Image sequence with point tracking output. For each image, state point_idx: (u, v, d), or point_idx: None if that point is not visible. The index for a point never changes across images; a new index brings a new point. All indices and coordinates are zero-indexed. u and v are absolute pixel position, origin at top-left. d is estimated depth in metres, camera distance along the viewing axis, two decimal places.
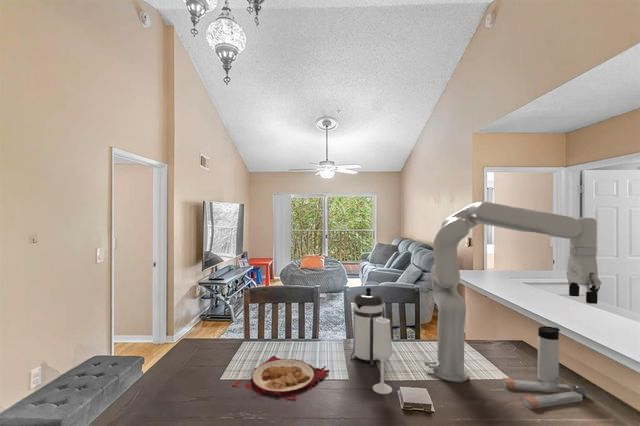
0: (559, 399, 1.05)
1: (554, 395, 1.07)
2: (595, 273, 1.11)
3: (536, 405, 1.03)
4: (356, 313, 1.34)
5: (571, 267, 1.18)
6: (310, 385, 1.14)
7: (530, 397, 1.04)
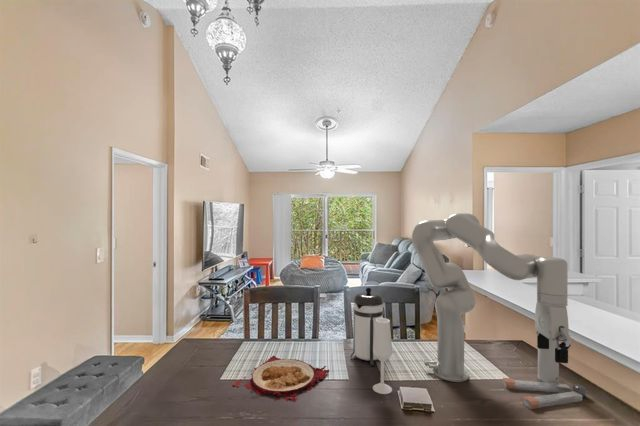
0: (559, 399, 1.05)
1: (554, 395, 1.07)
2: (565, 326, 0.93)
3: (536, 405, 1.03)
4: (356, 313, 1.34)
5: (539, 316, 1.00)
6: (310, 385, 1.14)
7: (530, 397, 1.04)
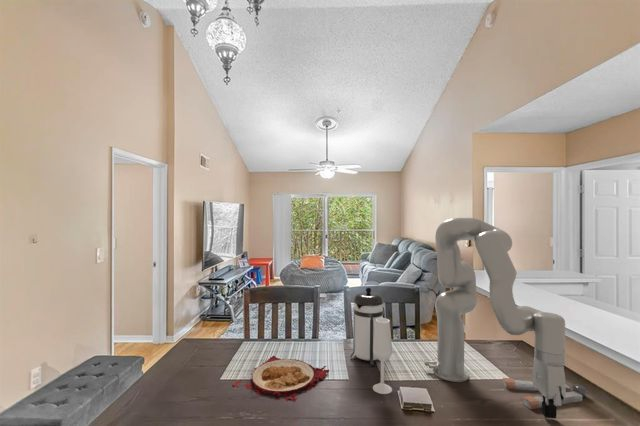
0: None
1: None
2: (562, 387, 0.92)
3: (536, 405, 1.03)
4: (356, 313, 1.34)
5: (536, 371, 0.99)
6: (310, 385, 1.14)
7: (530, 397, 1.04)
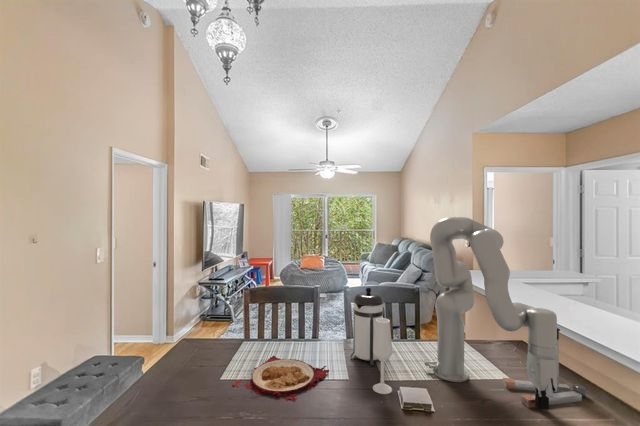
0: (558, 399, 1.05)
1: None
2: (554, 379, 0.97)
3: (534, 404, 1.03)
4: (356, 313, 1.34)
5: (530, 365, 1.04)
6: (310, 385, 1.14)
7: (528, 396, 1.05)
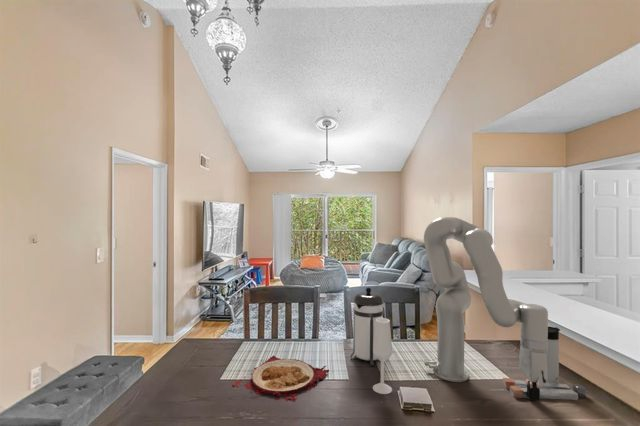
0: (549, 394, 1.08)
1: (545, 389, 1.10)
2: (544, 371, 1.02)
3: (520, 394, 1.09)
4: (356, 313, 1.34)
5: (522, 358, 1.09)
6: (310, 385, 1.14)
7: (516, 387, 1.11)
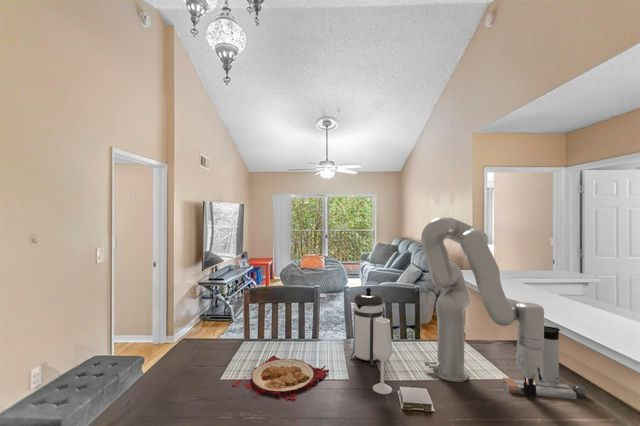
0: (545, 391, 1.09)
1: (542, 387, 1.11)
2: (540, 368, 1.04)
3: (516, 390, 1.11)
4: (356, 313, 1.34)
5: (519, 355, 1.11)
6: (310, 385, 1.14)
7: (512, 383, 1.13)
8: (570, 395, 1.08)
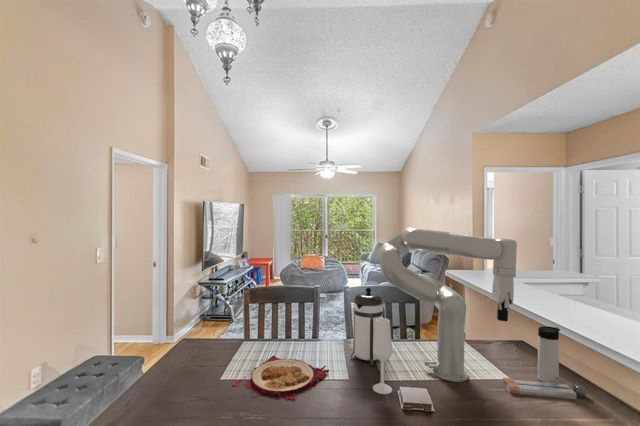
0: (546, 391, 1.09)
1: (543, 387, 1.11)
2: (511, 293, 1.17)
3: (516, 391, 1.11)
4: (356, 313, 1.34)
5: (494, 285, 1.24)
6: (309, 385, 1.14)
7: (513, 383, 1.13)
8: (570, 395, 1.08)
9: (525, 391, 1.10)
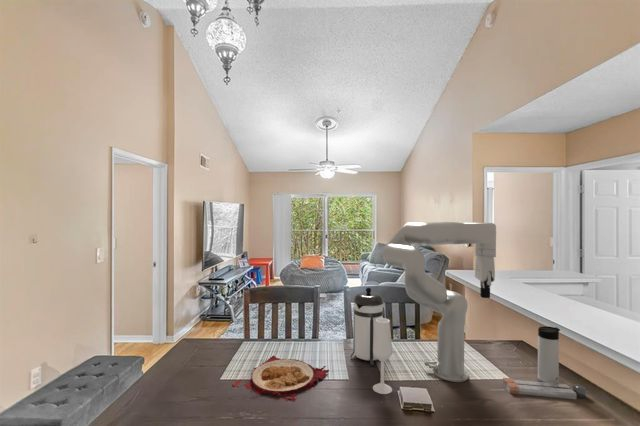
0: (546, 391, 1.09)
1: (543, 387, 1.11)
2: (492, 271, 1.28)
3: (516, 391, 1.11)
4: (356, 313, 1.34)
5: (477, 266, 1.35)
6: (309, 385, 1.14)
7: (513, 383, 1.13)
8: (570, 395, 1.08)
9: (525, 391, 1.10)
